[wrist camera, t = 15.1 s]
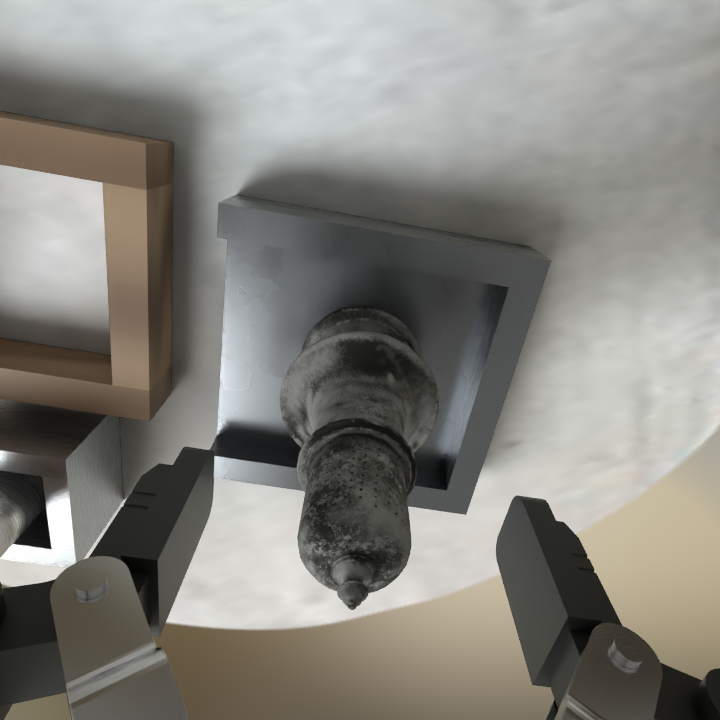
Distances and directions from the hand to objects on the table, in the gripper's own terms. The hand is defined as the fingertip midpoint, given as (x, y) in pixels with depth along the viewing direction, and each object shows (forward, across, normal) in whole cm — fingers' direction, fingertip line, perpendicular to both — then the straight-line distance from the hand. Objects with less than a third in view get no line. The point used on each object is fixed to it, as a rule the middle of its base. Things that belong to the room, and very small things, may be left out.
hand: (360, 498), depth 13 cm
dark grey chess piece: (+9, 0, 0) cm, 9 cm away
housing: (+10, +14, +8) cm, 19 cm away
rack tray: (+10, 0, 0) cm, 10 cm away
